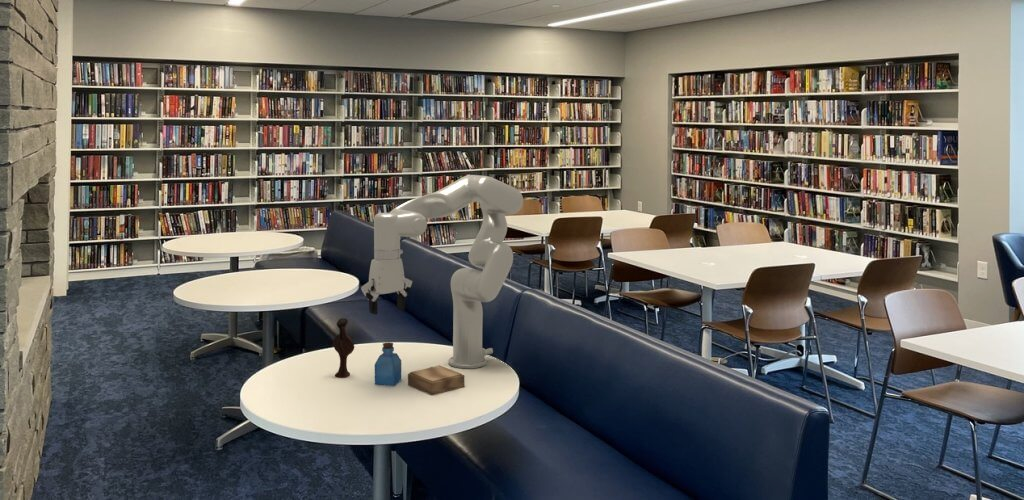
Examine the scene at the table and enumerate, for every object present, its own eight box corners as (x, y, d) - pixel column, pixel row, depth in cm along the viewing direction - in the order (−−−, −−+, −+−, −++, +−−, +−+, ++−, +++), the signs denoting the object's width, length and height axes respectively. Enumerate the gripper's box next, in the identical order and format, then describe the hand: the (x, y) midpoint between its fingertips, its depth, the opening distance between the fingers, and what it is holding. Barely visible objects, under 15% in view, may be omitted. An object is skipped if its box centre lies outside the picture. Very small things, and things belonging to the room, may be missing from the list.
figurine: (358, 374, 245) (357, 318, 242) (349, 379, 240) (349, 322, 238) (338, 372, 248) (337, 316, 245) (329, 376, 243) (328, 319, 240)
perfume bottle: (394, 386, 235) (394, 347, 233) (374, 384, 236) (374, 345, 234) (401, 380, 241) (401, 341, 239) (382, 378, 242) (382, 340, 240)
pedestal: (439, 377, 244) (439, 364, 244) (464, 386, 236) (464, 373, 235) (407, 385, 236) (407, 372, 236) (432, 395, 228) (432, 381, 227)
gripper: (404, 250, 241) (404, 305, 244) (354, 255, 230) (355, 313, 232) (418, 253, 236) (418, 309, 238) (368, 259, 224) (369, 317, 227)
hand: (387, 311), depth 235 cm, fingers open, 9 cm apart
